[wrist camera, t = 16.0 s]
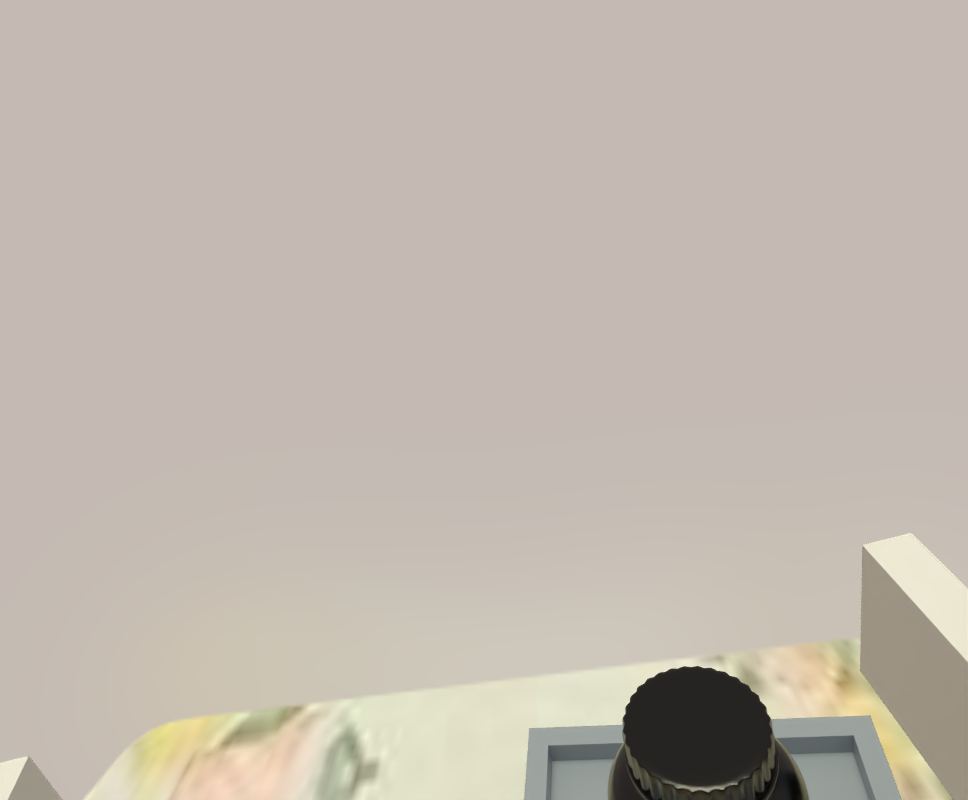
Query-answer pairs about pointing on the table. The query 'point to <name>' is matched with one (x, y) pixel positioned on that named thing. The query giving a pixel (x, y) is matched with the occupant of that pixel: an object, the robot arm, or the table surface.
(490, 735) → the table surface
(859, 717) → the tray
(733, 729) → the supplement bottle
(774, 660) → the table surface
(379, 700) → the table surface
